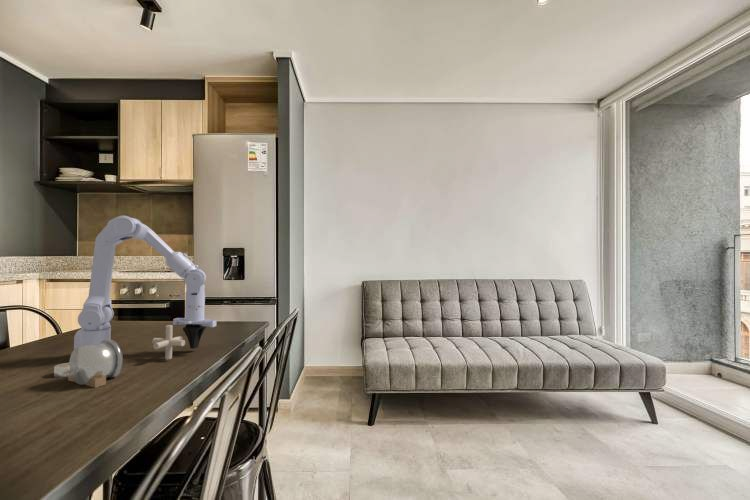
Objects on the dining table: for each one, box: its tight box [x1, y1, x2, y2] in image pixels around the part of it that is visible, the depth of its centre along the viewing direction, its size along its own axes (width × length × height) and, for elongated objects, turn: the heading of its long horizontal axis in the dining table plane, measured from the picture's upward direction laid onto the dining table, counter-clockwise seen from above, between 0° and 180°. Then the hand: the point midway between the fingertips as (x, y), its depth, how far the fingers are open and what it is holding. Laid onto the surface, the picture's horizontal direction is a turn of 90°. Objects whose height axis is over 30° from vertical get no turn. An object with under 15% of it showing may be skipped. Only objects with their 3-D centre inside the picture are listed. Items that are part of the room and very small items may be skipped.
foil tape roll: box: [53, 362, 70, 378], centre depth 96 cm, size 5×5×2 cm
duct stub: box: [67, 339, 124, 388], centre depth 92 cm, size 11×7×10 cm, turn 67°
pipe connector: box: [151, 324, 186, 361], centre depth 111 cm, size 10×10×10 cm
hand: (194, 347), depth 120 cm, fingers closed
